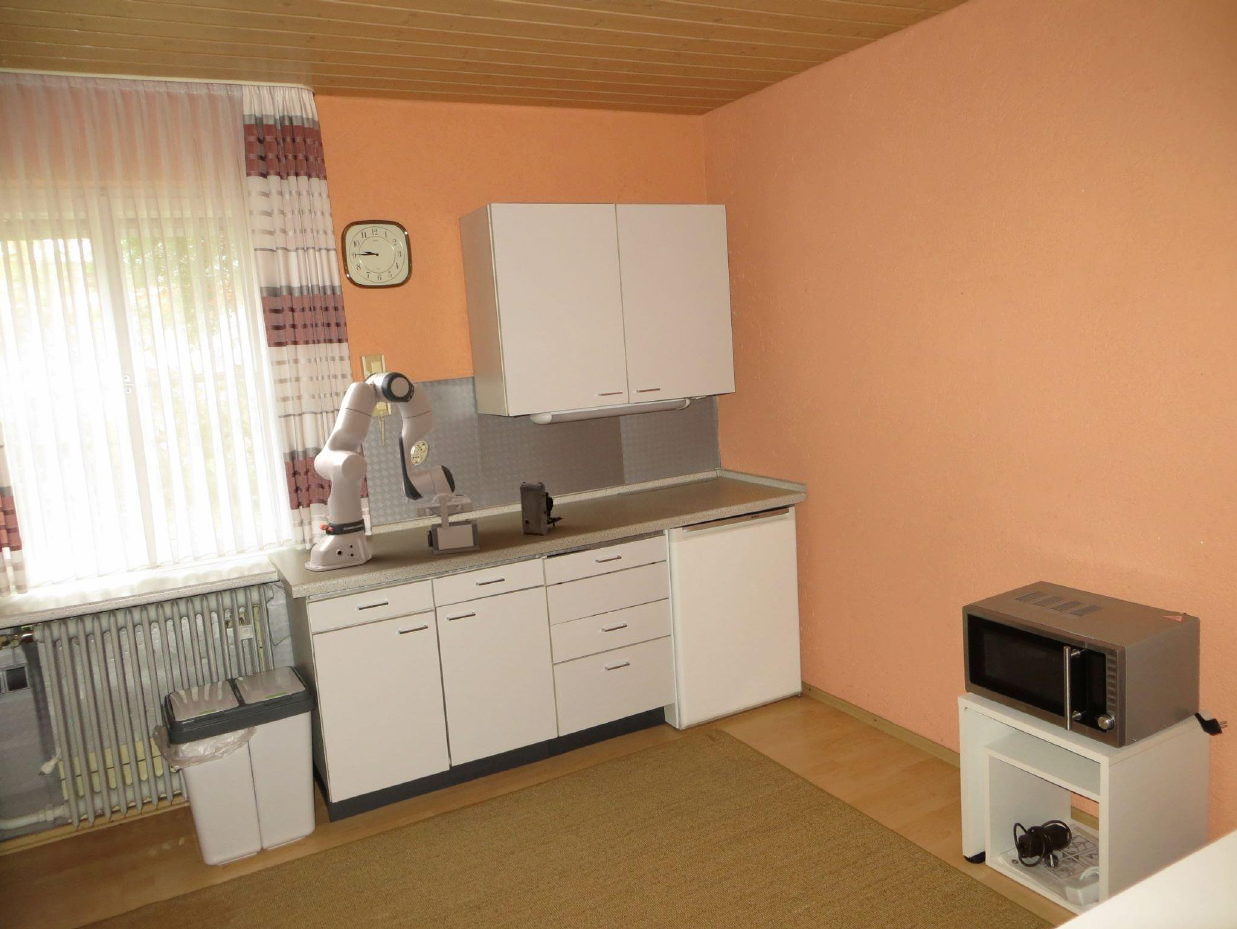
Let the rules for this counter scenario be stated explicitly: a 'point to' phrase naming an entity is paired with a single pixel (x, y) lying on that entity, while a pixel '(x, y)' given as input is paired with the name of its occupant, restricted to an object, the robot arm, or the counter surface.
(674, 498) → the counter surface
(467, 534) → the side door
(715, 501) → the counter surface
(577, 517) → the counter surface
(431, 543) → the camera housing
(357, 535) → the robot arm
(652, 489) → the counter surface
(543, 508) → the vintage camera
